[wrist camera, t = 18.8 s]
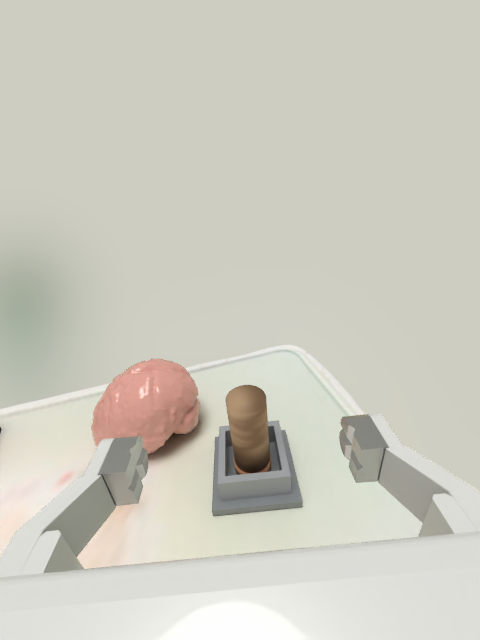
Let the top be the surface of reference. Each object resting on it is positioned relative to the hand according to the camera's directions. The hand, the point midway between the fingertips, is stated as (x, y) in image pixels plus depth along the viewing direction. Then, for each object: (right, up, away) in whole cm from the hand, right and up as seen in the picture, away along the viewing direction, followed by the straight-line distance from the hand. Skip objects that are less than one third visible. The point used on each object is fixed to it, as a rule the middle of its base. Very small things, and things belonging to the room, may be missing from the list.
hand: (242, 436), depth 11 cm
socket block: (+2, -14, +24) cm, 28 cm away
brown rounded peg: (+2, -14, +24) cm, 28 cm away
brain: (-13, -12, +32) cm, 37 cm away
